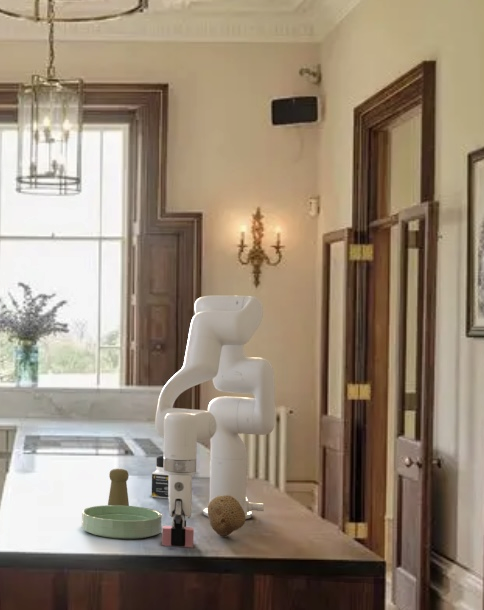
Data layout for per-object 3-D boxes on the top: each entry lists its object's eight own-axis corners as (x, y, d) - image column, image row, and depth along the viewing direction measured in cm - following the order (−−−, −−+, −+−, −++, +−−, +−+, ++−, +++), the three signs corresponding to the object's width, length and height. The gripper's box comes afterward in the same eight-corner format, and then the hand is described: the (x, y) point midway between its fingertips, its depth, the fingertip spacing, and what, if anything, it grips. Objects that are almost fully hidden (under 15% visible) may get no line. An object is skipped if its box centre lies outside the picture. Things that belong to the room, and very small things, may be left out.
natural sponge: (245, 534, 246) (245, 493, 246) (245, 542, 237) (245, 499, 237) (207, 531, 248) (208, 490, 248) (205, 539, 239) (206, 497, 240)
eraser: (193, 544, 234) (193, 527, 234) (193, 547, 231) (193, 530, 231) (162, 542, 235) (163, 525, 235) (162, 545, 232) (162, 528, 232)
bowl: (162, 525, 254) (162, 507, 254) (159, 542, 235) (159, 523, 235) (86, 521, 258) (87, 503, 258) (77, 537, 239) (77, 518, 239)
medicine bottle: (151, 497, 293) (152, 455, 293) (157, 493, 300) (158, 452, 300) (175, 499, 290) (176, 457, 290) (180, 495, 297) (181, 454, 297)
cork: (128, 512, 270) (129, 471, 270) (105, 511, 271) (106, 470, 271) (130, 508, 276) (131, 467, 276) (108, 506, 277) (109, 466, 277)
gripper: (196, 472, 224) (194, 551, 224) (196, 461, 241) (195, 534, 241) (161, 471, 225) (160, 549, 225) (164, 460, 242) (163, 532, 242)
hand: (178, 541), depth 233 cm, fingers open, 8 cm apart
